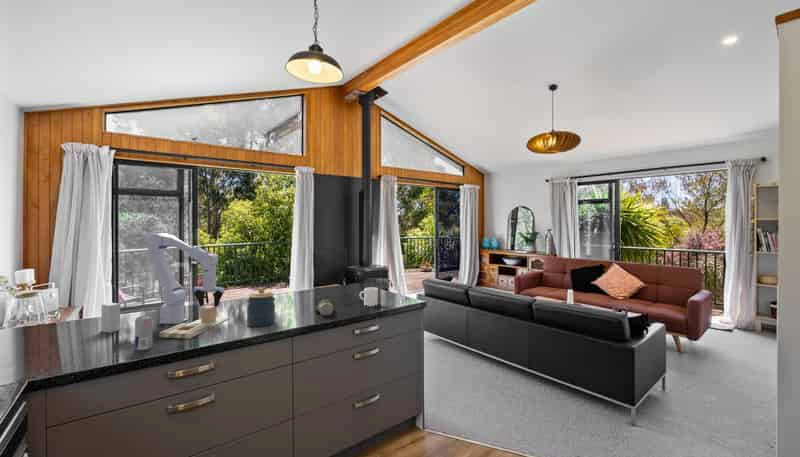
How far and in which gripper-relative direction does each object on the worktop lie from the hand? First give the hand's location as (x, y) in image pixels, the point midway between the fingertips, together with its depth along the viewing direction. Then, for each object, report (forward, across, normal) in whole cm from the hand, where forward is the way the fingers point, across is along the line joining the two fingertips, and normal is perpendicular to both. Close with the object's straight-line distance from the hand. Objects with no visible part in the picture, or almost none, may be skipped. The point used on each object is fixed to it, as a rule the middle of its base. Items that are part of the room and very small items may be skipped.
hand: (209, 306), depth 166 cm
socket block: (+8, 0, -16) cm, 18 cm away
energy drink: (+8, -3, -35) cm, 36 cm away
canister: (+8, +26, +1) cm, 27 cm away
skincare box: (+8, -34, -18) cm, 39 cm away
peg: (+7, 0, 0) cm, 7 cm away
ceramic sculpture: (+8, +51, +23) cm, 57 cm away
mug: (+8, +71, +44) cm, 84 cm away
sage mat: (+8, 0, 0) cm, 8 cm away
